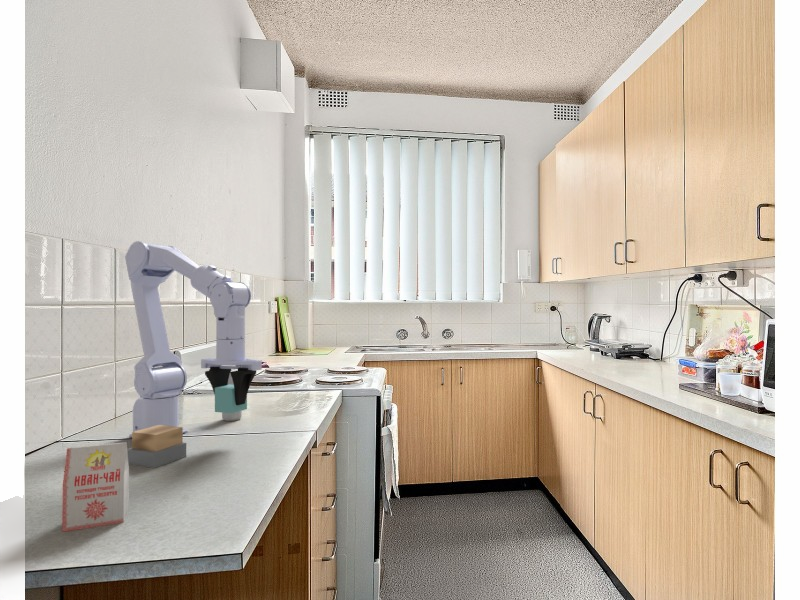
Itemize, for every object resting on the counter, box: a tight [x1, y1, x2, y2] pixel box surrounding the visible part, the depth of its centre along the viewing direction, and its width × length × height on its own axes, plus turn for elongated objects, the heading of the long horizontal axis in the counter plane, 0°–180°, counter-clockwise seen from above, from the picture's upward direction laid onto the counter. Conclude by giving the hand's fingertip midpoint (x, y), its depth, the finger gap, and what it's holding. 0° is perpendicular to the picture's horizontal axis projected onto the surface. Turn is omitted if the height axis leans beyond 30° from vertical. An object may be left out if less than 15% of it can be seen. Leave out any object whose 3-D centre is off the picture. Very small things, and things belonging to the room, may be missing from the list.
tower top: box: [131, 425, 184, 451], centre depth 87 cm, size 6×6×3 cm
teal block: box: [214, 385, 248, 414], centre depth 97 cm, size 4×4×5 cm
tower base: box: [127, 442, 187, 469], centre depth 87 cm, size 7×7×3 cm
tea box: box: [61, 441, 130, 532], centre depth 61 cm, size 4×7×10 cm, turn 111°
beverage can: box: [221, 374, 243, 422], centre depth 120 cm, size 5×5×12 cm
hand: (230, 403), depth 97 cm, fingers closed on teal block, 4 cm apart
